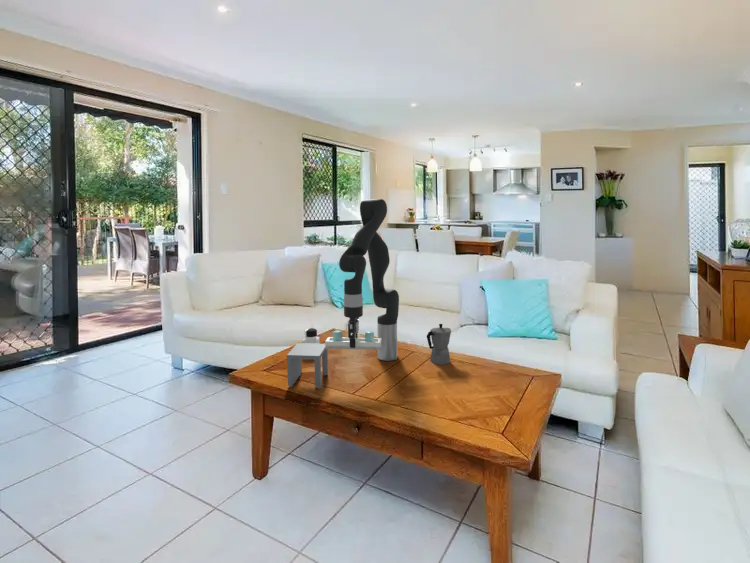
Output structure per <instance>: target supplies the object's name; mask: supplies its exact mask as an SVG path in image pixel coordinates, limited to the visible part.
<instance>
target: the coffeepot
mask: <svg viewBox="0 0 750 563" xmlns="http://www.w3.org/2000/svg"><path fill="white" fill-rule="evenodd" d="M443 324H444V323H439V324H438V326H439V327H433V328H431V329H430V331H428V332H427V335H426V339H427V344H428V347H429V349H430V350H431V352H430V358H429V360H430V362H431V363H432V364H435V365H441V366H443V365H444V366H445V365H448V364H450V362H451V359H450V358H451V356H450V350H449V344H450V338H451V335H452V334H451V332H452V330H451V328H450V327H443Z"/></svg>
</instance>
